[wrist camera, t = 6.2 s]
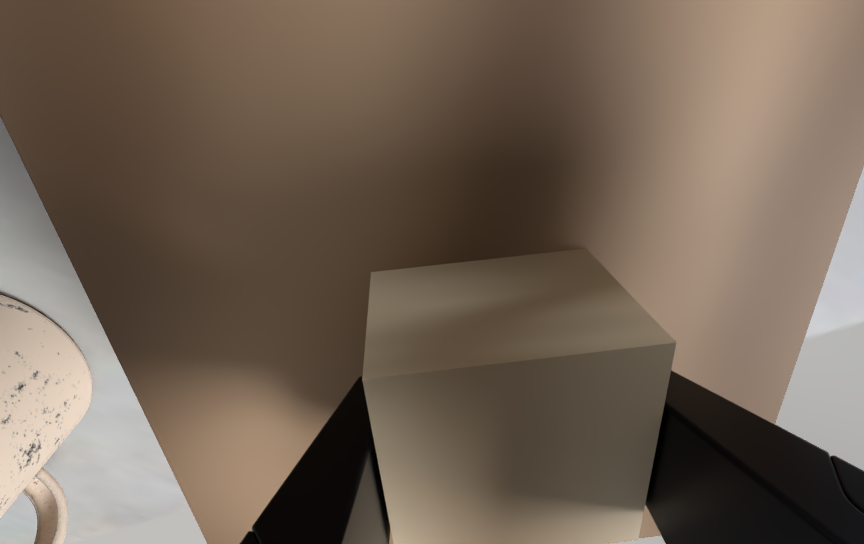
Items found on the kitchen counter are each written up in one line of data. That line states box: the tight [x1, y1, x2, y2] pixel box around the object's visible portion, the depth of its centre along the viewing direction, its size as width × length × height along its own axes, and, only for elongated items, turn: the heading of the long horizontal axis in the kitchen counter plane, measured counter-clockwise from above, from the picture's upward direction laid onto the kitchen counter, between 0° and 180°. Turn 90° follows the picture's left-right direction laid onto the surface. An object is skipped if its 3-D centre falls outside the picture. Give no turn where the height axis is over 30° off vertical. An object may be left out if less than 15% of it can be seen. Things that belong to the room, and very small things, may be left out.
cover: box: [0, 0, 864, 544], centre depth 8 cm, size 14×14×4 cm
